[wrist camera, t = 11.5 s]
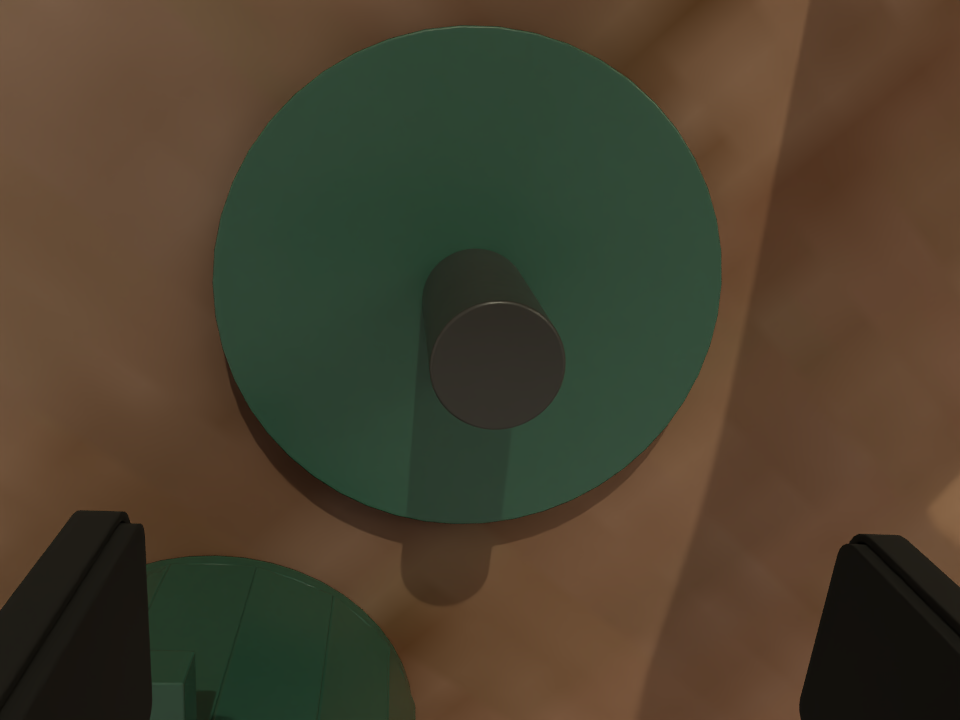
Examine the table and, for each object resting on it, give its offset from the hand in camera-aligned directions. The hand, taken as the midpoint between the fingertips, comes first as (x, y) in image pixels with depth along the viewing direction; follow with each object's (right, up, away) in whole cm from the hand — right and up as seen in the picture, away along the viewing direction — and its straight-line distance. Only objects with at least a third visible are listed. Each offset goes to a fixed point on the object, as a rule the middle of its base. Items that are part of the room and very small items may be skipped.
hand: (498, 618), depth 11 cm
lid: (0, +5, +11) cm, 12 cm away
